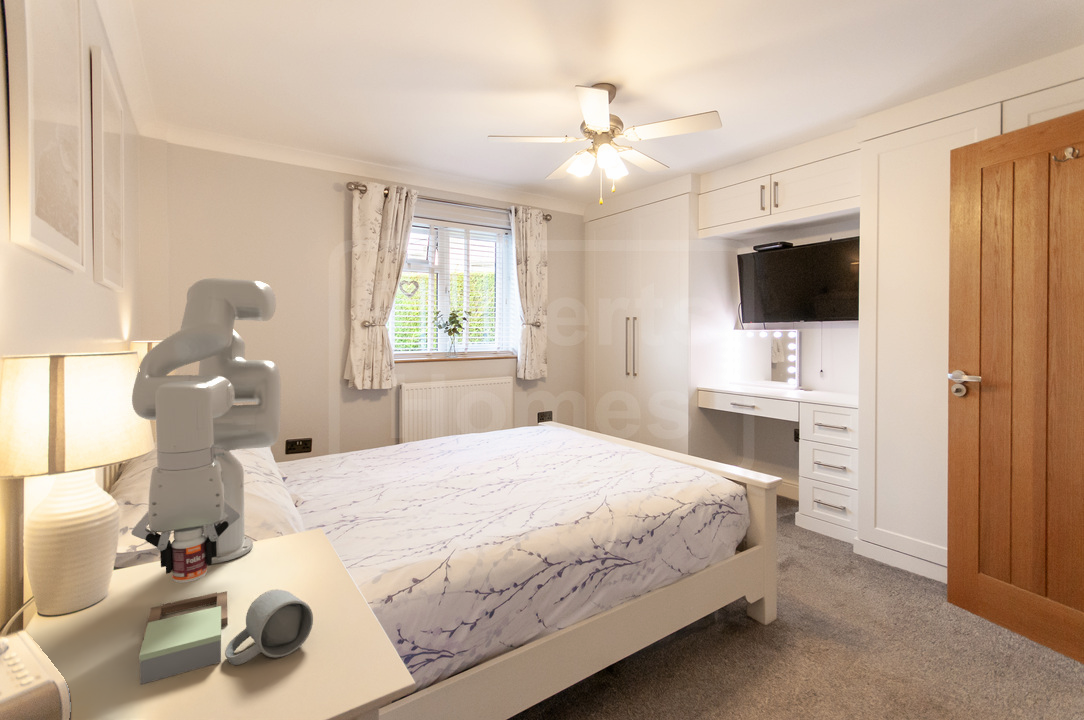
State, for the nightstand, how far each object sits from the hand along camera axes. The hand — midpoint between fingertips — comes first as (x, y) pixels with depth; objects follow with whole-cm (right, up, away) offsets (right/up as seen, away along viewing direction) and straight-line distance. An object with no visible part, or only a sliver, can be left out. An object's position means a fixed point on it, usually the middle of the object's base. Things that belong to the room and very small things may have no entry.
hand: (189, 564), depth 83 cm
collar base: (0, -9, -1) cm, 9 cm away
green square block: (+6, -9, -10) cm, 15 cm away
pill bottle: (0, -2, 0) cm, 2 cm away
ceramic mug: (+18, -9, -8) cm, 22 cm away
